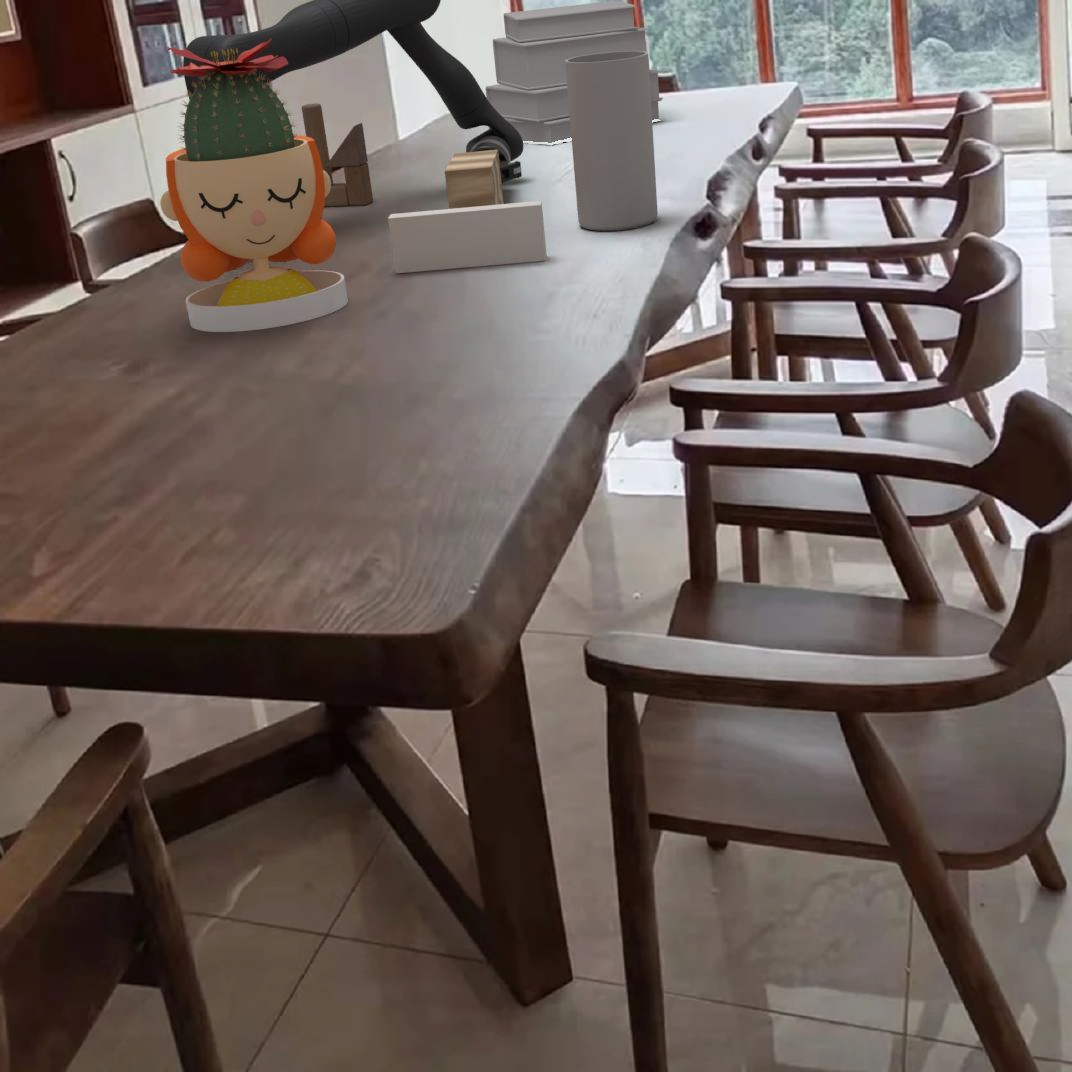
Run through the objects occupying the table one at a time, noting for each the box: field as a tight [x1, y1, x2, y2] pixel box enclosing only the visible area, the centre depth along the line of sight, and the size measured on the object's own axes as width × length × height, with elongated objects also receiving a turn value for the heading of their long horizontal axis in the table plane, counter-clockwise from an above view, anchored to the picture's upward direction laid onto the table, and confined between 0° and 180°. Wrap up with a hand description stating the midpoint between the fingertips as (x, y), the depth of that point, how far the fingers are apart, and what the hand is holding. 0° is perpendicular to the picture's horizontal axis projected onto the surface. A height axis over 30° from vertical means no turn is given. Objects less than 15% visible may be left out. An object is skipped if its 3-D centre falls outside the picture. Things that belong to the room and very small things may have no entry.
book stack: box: [484, 0, 664, 143], centre depth 307 cm, size 30×35×26 cm
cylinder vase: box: [565, 51, 659, 232], centre depth 214 cm, size 12×12×25 cm
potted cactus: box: [159, 39, 349, 333], centre depth 184 cm, size 22×22×35 cm
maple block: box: [444, 150, 505, 209], centre depth 218 cm, size 16×7×12 cm, turn 177°
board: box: [387, 200, 548, 274], centre depth 202 cm, size 3×22×8 cm, turn 87°
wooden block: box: [301, 102, 374, 208], centre depth 253 cm, size 4×11×18 cm, turn 73°
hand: (481, 181), depth 228 cm, fingers closed
